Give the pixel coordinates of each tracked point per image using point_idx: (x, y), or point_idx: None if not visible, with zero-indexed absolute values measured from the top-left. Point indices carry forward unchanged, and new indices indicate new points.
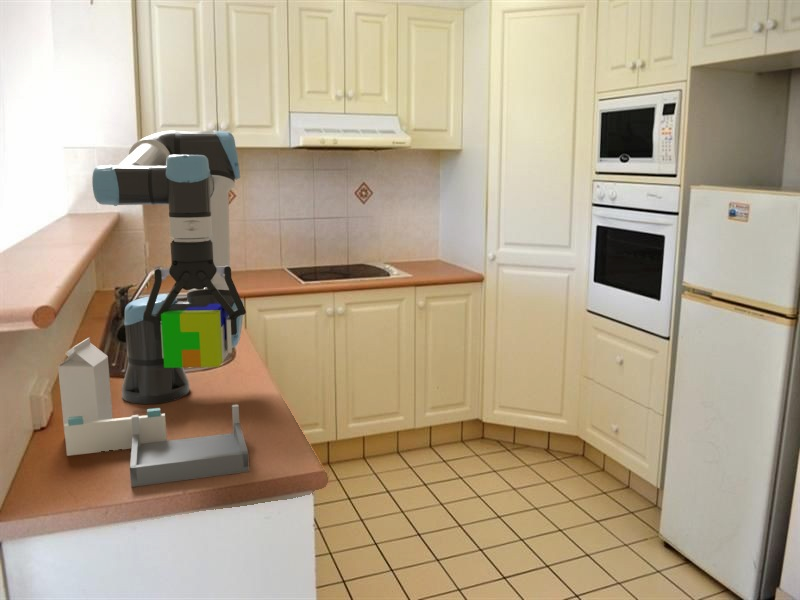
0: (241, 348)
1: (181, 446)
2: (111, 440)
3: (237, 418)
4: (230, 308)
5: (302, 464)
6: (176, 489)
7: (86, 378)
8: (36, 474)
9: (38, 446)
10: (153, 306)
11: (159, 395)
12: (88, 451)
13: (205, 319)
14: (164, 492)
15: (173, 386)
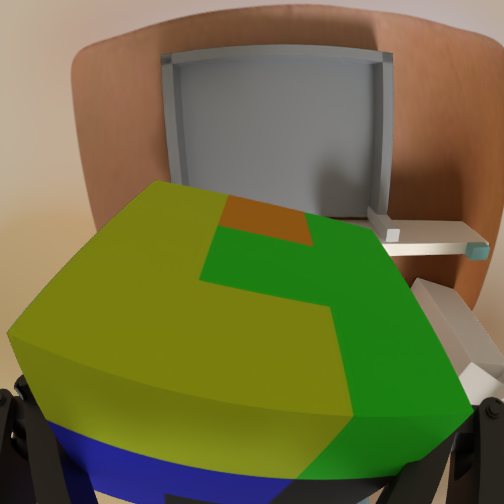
0: None
1: (295, 181)
2: (414, 227)
3: None
4: (29, 431)
5: (86, 79)
6: (303, 21)
7: (471, 345)
8: (495, 169)
9: (483, 267)
10: (482, 473)
11: None
12: (439, 222)
13: (115, 330)
14: (323, 18)
15: None
